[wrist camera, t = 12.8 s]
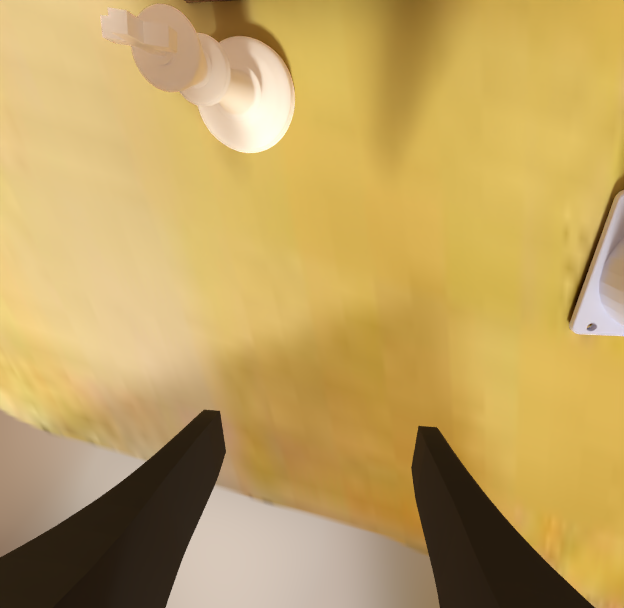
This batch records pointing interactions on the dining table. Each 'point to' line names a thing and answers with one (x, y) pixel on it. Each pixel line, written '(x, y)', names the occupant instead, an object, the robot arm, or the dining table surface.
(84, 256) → the dining table surface
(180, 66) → the chess piece
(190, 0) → the walnut board
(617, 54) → the dining table surface
